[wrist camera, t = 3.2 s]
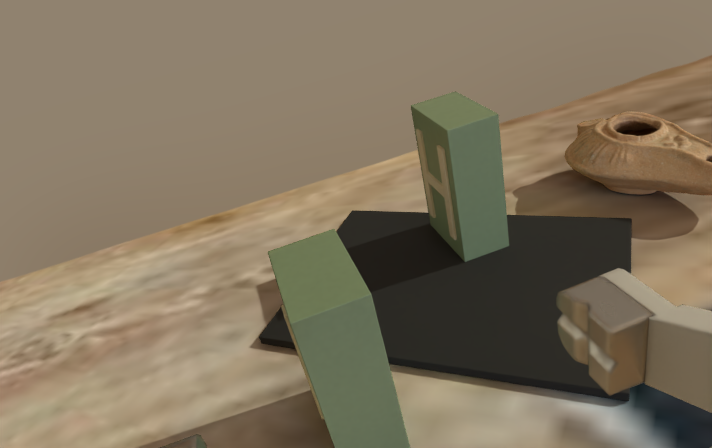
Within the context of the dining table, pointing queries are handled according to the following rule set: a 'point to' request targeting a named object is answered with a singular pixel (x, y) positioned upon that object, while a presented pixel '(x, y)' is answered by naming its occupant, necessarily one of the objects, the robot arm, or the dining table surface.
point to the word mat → (479, 294)
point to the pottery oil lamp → (641, 155)
